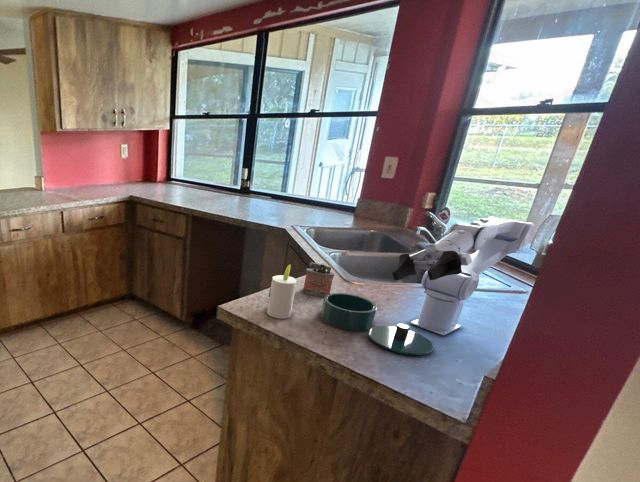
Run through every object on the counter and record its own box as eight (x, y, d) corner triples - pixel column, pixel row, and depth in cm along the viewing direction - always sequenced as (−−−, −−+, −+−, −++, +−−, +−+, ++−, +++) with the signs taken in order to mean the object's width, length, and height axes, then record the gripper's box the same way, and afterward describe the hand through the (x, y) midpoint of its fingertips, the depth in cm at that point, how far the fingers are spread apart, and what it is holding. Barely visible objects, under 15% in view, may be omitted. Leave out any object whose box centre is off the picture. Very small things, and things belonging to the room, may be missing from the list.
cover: (386, 325, 108) (390, 309, 106) (443, 347, 97) (449, 331, 96) (356, 337, 102) (360, 321, 100) (413, 363, 91) (419, 345, 89)
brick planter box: (330, 294, 127) (337, 264, 123) (328, 298, 124) (335, 267, 121) (303, 289, 131) (308, 260, 127) (301, 292, 128) (306, 262, 125)
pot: (338, 306, 119) (342, 289, 117) (381, 324, 109) (386, 305, 107) (311, 316, 113) (314, 298, 111) (353, 335, 103) (358, 316, 101)
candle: (266, 307, 118) (274, 258, 112) (290, 310, 116) (299, 261, 110) (265, 316, 113) (273, 265, 107) (290, 320, 110) (299, 268, 105)
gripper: (409, 239, 102) (376, 261, 97) (477, 232, 88) (442, 258, 84) (416, 264, 103) (384, 287, 98) (485, 261, 90) (451, 288, 85)
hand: (411, 276), depth 91 cm, fingers open, 7 cm apart
